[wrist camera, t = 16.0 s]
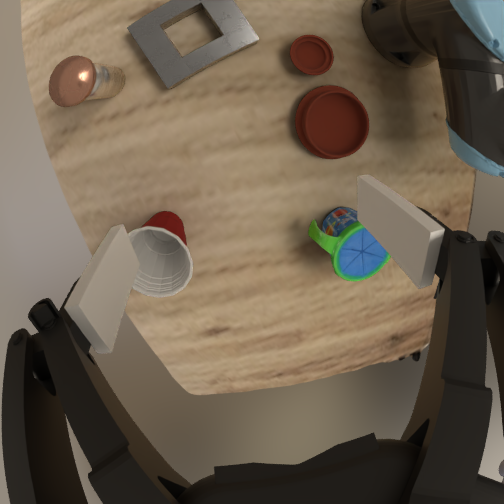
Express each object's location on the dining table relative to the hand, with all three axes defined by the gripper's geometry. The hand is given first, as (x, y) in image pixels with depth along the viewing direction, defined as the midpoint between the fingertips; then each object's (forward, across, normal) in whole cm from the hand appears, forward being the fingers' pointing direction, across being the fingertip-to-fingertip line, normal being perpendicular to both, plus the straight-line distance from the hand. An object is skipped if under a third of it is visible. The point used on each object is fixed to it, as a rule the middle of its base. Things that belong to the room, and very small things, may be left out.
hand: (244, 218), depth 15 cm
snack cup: (+29, +17, -18) cm, 38 cm away
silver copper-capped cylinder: (+29, -15, +14) cm, 35 cm away
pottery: (+29, +15, +4) cm, 33 cm away
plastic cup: (+29, -13, -12) cm, 34 cm away
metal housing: (+29, -2, +17) cm, 34 cm away
